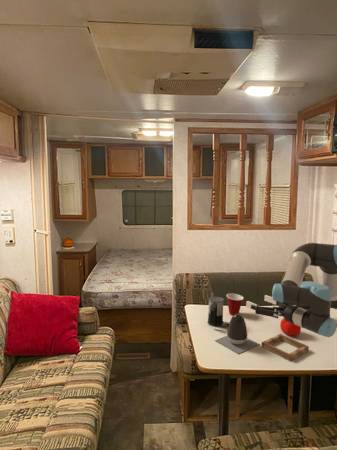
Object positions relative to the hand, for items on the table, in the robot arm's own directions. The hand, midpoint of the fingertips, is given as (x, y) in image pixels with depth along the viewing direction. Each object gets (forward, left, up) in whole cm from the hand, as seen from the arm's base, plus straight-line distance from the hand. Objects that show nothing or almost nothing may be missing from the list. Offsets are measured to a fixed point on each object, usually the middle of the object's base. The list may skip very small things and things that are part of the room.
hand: (256, 300), depth 151 cm
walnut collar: (-15, +7, -26) cm, 31 cm away
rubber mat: (0, -11, -26) cm, 28 cm away
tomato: (-32, -1, -26) cm, 42 cm away
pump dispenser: (0, -11, -26) cm, 28 cm away
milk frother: (-9, -30, -26) cm, 41 cm away
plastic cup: (-27, -37, -26) cm, 53 cm away
